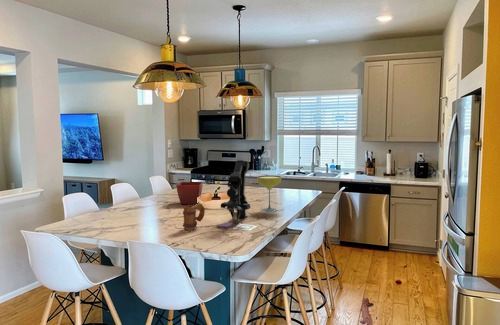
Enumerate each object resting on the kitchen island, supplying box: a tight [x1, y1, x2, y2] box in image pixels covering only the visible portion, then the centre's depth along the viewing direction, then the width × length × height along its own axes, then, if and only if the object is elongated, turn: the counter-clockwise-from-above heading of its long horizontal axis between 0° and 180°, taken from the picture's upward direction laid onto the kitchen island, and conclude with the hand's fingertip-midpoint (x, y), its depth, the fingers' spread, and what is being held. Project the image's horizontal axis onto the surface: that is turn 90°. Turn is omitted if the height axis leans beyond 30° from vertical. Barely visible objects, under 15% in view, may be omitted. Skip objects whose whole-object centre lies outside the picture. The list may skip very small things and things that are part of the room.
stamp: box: [231, 211, 240, 225], centre depth 236 cm, size 4×4×7 cm
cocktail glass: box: [256, 175, 282, 212], centre depth 276 cm, size 18×18×25 cm
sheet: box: [231, 223, 259, 232], centre depth 226 cm, size 12×12×1 cm
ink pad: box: [217, 222, 236, 230], centre depth 229 cm, size 10×7×1 cm
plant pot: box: [175, 181, 204, 205], centre depth 306 cm, size 19×19×17 cm
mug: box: [182, 202, 206, 231], centre depth 224 cm, size 15×8×15 cm, turn 126°
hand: (235, 219), depth 236 cm, fingers closed on stamp, 3 cm apart
